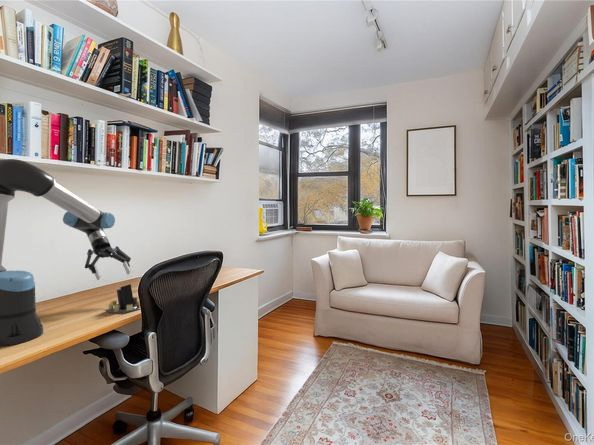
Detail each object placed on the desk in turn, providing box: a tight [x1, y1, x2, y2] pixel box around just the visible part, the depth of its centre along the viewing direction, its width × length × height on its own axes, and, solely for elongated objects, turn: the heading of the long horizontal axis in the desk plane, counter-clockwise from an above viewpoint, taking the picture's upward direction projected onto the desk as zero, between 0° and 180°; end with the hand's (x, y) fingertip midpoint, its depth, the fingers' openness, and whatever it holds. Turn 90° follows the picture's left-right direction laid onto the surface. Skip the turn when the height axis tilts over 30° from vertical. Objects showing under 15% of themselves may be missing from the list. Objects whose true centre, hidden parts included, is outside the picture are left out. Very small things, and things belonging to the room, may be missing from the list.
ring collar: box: [107, 296, 141, 315], centre depth 148 cm, size 15×15×3 cm
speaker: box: [116, 283, 134, 310], centre depth 148 cm, size 8×6×10 cm
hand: (114, 275), depth 154 cm, fingers open, 13 cm apart
